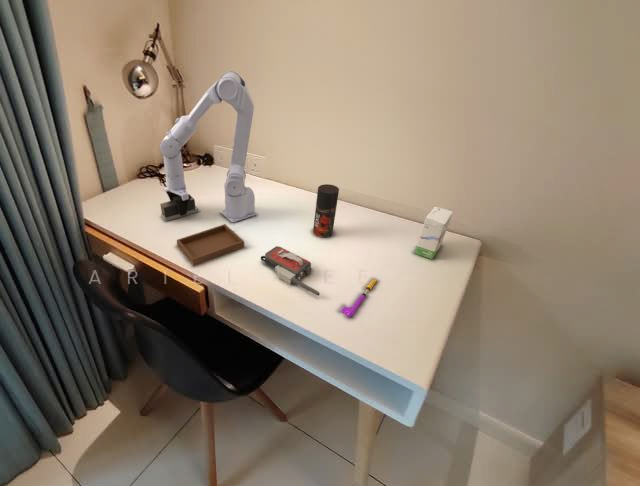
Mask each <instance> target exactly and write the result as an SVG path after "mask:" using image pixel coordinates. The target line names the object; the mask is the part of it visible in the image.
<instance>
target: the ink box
mask: <svg viewBox="0 0 640 486" xmlns="http://www.w3.org/2000/svg"><path fill="white" fill-rule="evenodd" d="M453 214H454V212H453V211H452V210H448V209H446V208H443V207H439V206H434V207H433V208H432V209H431V210H430V212H429V213H428V214H427V215H426V217H425V219H424V222H423V224H422V229H421V231H420V235H419V237H418V238H419V239H418V241H417V245H416V247H415V251H414V254H416V255H417V256H422V257H424V258H427V259H430V260H433V259H434V257H435V256H436V254H437V252H438V251H439V250H440V247H442V243H443V240H444V238H445V235H446V232H447V229H448V227H449V224H450V221H451V219H452V217H453Z"/></svg>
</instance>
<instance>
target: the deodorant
mask: <svg viewBox="0 0 640 486" xmlns="http://www.w3.org/2000/svg"><path fill="white" fill-rule="evenodd" d="M339 193H340V188H339V187H338V186H337V185H334V184H329V183H328V184H320V185H319V186H318V187H317V193H316V201H315V202H316V203H315V211H314V220H313V229H312V233H313V235H315V237H318V238H321V239H326V238H327V239H328V238H331V237H332V236H333V234H334V226H335V219H336V214H337V213H336V212H337V207H338V200H339Z"/></svg>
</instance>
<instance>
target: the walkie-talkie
mask: <svg viewBox="0 0 640 486" xmlns="http://www.w3.org/2000/svg"><path fill="white" fill-rule="evenodd" d="M260 260H261V261H262V262H263V263H264V264H265V265H267V266H268V267H270V268H272V269H274V272H276V274H277V277H278V278H279V279H281V280H283V281H285V282H286V283H287V284H289V285H291V284H292V283H293V284H294V285H296V286H299V287H301V288H302V289H304V290H306V291H308V292H311V293H312V294H314V295H316V296H320V292H319V291H318V290H316V289H314V288H312V287H311V286H309V285H308V284H305V283H303V282H302V281H301V280H302V277H304V276H305V275H309V274H311V272H312V270H313V269H312V267H311V266H312V262H311V261H309V260H308V259H305V258H304V257H301V256H300V255H298V254H295V253H293V252H291V251H290V250H287V249H285V248H284V247H282V246H275V247H273V248H271V249H270V250H268V251H267V252H265V253H264V255H261V256H260Z"/></svg>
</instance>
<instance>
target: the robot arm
mask: <svg viewBox="0 0 640 486" xmlns="http://www.w3.org/2000/svg"><path fill="white" fill-rule="evenodd" d="M222 101H223V102H225V103H227V104H229V105H230V106H231V107H232V108H233V109H234V110H235V112H236V113H237V114H236V121H235V130H234V136H233V145H232V152H231V159H230V166H229V169H227V171H226V178H225V182H224V187H223V188H224V203H225V205H224V207H225V210H221V211H220V214H222V216H224V217H225V218H226V220H228V221H230V222H231V223H235V222H239V221H242V220H245V219H248V218H251V217H254V216H257V213H256V211H255V210H256V206H255V205H256V203H255V202H256V198H255V197H256V196H255V193H254V190H253V189H252V188H251V187H250V186H245V183H246V178H247V174H246V171H245V169H246V161H247V155H248V148H249V147H248V146H249V142H250V137H251V129H252V123H253V118H254V112H255V103H254V101H253V98H252V95H251V93H250V91H249V89H248V86H247V83H246V81H245V80H244V79H243V77H242V76H241V75H240V74H239V73H237V72H236V71H234V70H228V71H225V72H224V73H223V74H222V75H221V76H220V79H219V78H218V79H217V80H216V81H215V82H214V83H213V84H212V85H211V86H209V88H208V89H207V90H206V91H205V92H204V94H203V95H202V96H201V98H200V100H198V102H197V104H196V105H195V106H194V107H193V108H192V110H191V112H189V114H187V115H181V116H180V117H177V118H176V119H175V121H174V123H175V124H174V125H173V126H172V127H171V129H170V130H168V131H167V132H166V133H165V135H166V136H164V138H163V139H162V140H161V142H160V145H159V152H160V154H161V155H162V157H163V166H164V173H165V184H166V186H165V187H164V188H163V191H165V192H166V195H167V196H168V199H169V201H172V200H174V201H175V202H176V204H177V207H178V210H179V213H180V215H181V216H182V215H185V214H187V208H188V204H189V201H190V199H191V196H192V195H191V194H189V193H188V191H187V185H186V181H185V172H184V171H185V170H184V163H183V158H182V151H181V150H182V148H183V146H185V145H186V143H187V142H188V141H189V140H190V139H191V138H192V136H193V135H194V134H195V133H196V132H197V130H198V126H197V123H198V122H199V121H200V119H202V117H203V116H204V115H205V114H206V113H207V112H208V110H209V109H210V108H211V107H212V106H213V105H217V104H221V103H222ZM190 195H191V196H190ZM185 216H186V215H185ZM182 217H183V216H182Z"/></svg>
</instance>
